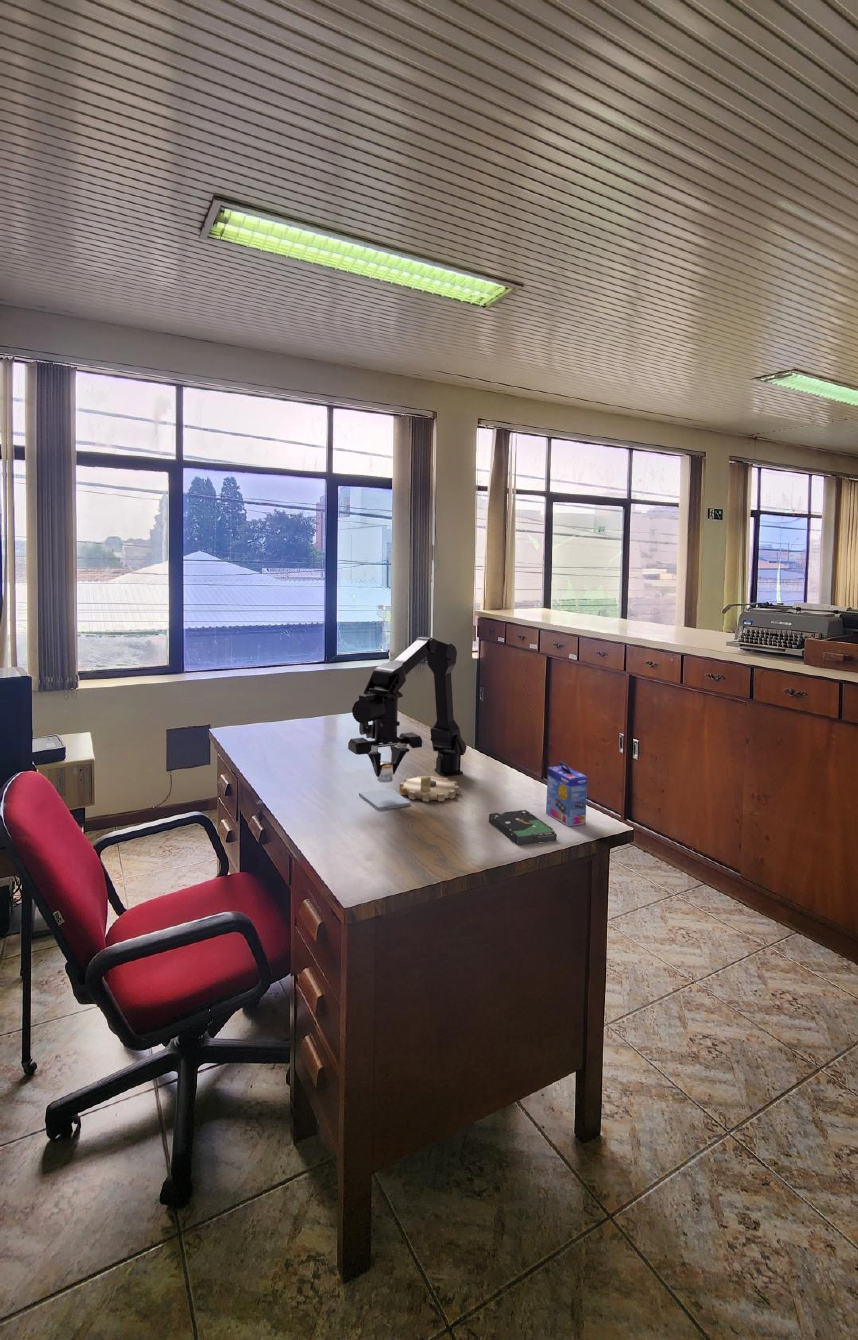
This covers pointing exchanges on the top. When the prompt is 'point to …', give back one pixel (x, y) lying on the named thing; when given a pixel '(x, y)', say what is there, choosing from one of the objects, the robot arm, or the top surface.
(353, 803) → the top surface
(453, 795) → the sprocket wheel
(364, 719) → the robot arm
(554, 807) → the ink cartridge box
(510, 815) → the disk drive
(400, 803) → the slate pad
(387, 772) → the small glass jar
